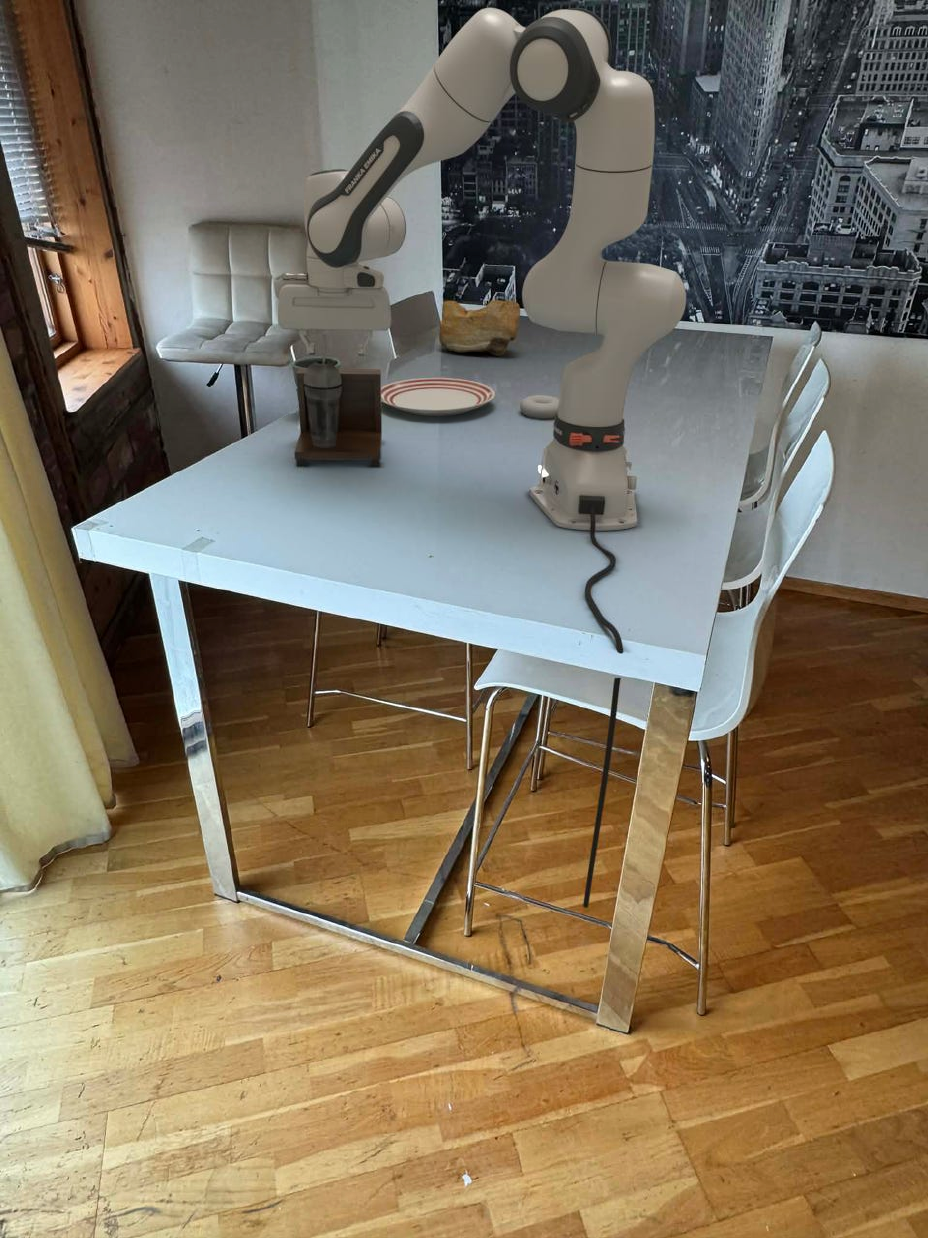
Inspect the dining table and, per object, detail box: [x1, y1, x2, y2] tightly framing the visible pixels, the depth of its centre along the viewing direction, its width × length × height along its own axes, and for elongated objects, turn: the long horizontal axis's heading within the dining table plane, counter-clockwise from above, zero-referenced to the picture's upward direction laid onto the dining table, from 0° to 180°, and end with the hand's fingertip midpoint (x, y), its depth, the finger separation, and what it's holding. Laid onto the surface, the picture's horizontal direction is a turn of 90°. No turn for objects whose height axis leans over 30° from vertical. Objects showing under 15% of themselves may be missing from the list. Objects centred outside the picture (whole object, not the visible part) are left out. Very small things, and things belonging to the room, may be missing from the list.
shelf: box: [294, 368, 383, 468], centre depth 162 cm, size 15×16×15 cm
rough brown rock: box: [438, 299, 521, 357], centre depth 242 cm, size 23×17×15 cm
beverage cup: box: [303, 334, 343, 448], centre depth 157 cm, size 7×7×20 cm
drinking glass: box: [291, 356, 341, 397], centre depth 183 cm, size 10×10×12 cm
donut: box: [519, 394, 559, 420], centre depth 192 cm, size 10×4×10 cm
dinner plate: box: [381, 377, 496, 417], centre depth 196 cm, size 27×27×3 cm
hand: (336, 354), depth 155 cm, fingers open, 8 cm apart
